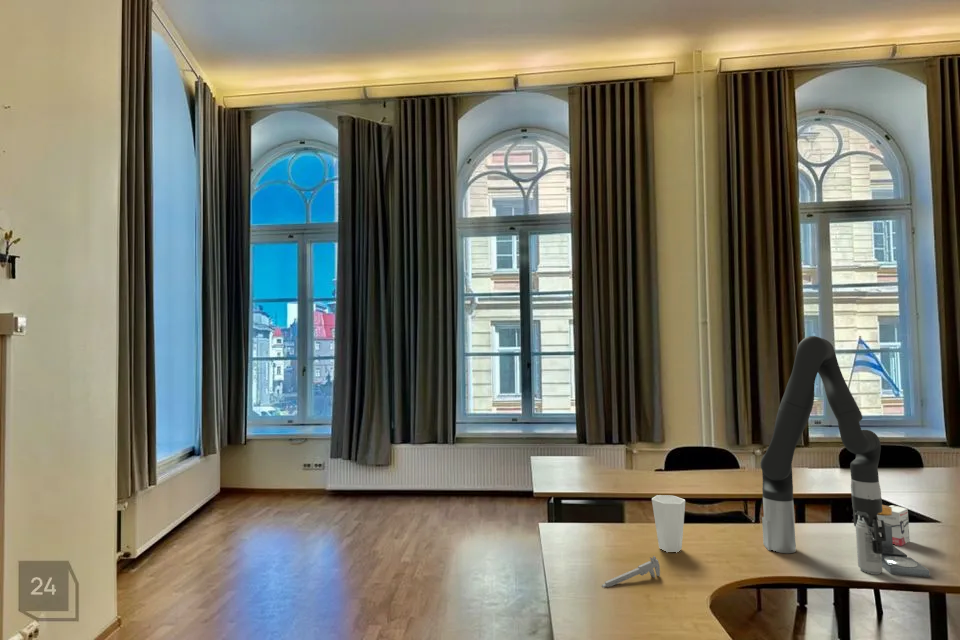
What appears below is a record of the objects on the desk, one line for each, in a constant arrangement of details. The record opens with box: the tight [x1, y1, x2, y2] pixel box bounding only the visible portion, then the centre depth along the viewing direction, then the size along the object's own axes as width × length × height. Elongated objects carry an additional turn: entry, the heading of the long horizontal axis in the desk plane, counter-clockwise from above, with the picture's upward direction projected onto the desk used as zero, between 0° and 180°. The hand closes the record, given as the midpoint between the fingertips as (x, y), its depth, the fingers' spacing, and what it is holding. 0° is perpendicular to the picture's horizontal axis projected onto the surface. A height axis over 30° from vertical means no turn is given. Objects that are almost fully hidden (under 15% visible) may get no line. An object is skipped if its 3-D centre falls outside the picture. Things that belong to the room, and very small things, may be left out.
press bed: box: [882, 555, 931, 578], centre depth 159 cm, size 10×10×2 cm
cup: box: [651, 494, 686, 554], centre depth 177 cm, size 11×10×17 cm
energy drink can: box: [855, 519, 883, 575], centre depth 158 cm, size 6×6×15 cm
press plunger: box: [877, 504, 892, 521], centre depth 171 cm, size 7×7×9 cm
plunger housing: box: [881, 522, 908, 557], centre depth 171 cm, size 10×10×10 cm
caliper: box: [601, 555, 661, 589], centre depth 153 cm, size 20×1×6 cm, turn 111°
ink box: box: [884, 504, 911, 547], centre depth 182 cm, size 8×5×12 cm, turn 123°
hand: (870, 548), depth 158 cm, fingers open, 8 cm apart
